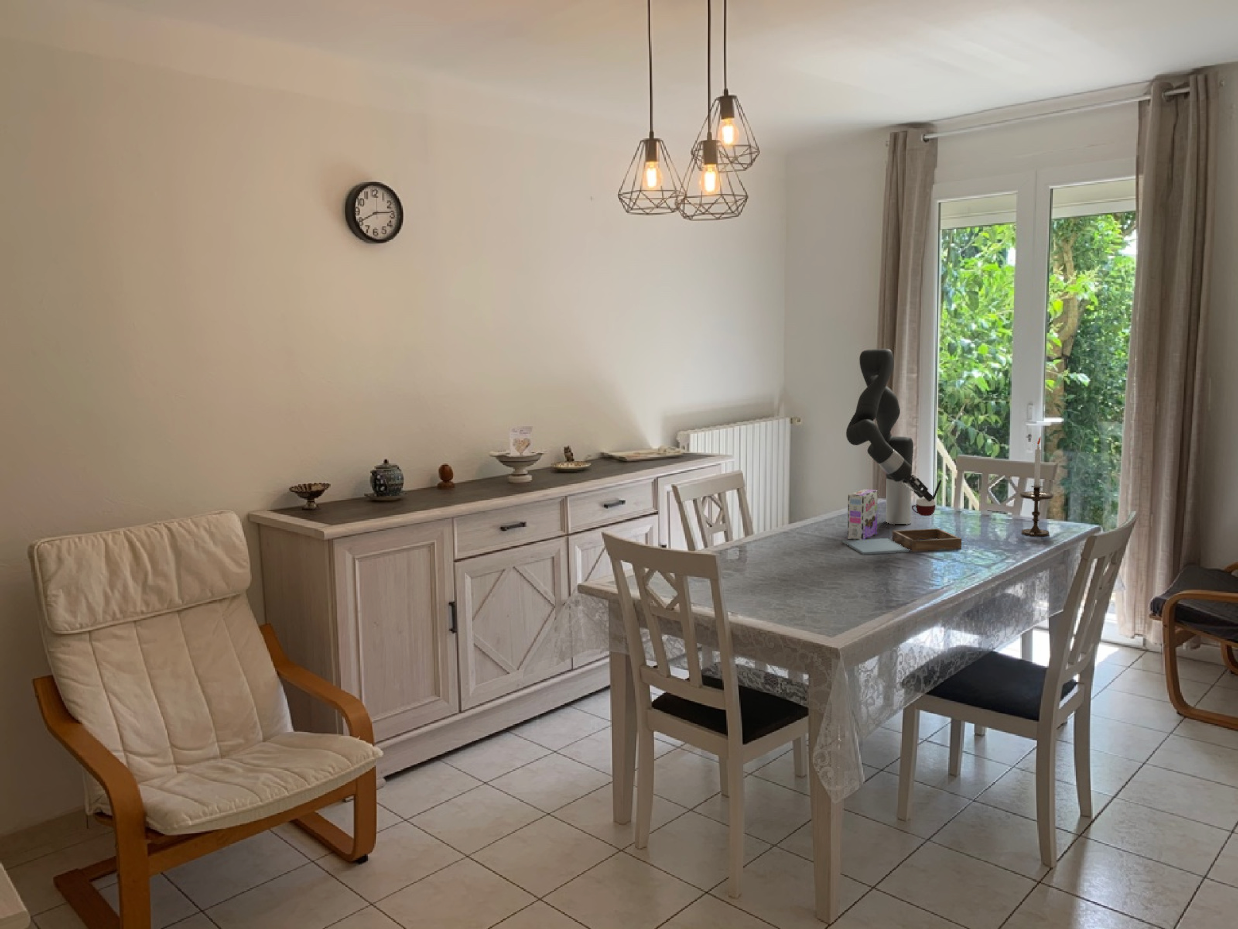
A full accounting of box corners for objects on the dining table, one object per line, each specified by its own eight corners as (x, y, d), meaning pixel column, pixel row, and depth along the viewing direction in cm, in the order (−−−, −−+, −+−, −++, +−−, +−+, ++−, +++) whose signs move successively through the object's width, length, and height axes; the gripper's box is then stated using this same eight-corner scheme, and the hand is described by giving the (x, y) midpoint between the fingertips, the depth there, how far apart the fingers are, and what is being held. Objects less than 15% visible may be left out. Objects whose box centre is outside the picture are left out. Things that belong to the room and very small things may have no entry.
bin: (892, 540, 326) (892, 530, 326) (938, 538, 328) (938, 528, 327) (912, 551, 309) (913, 541, 309) (961, 548, 311) (961, 538, 311)
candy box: (862, 541, 326) (863, 495, 324) (846, 539, 330) (847, 493, 328) (877, 534, 337) (878, 489, 335) (862, 532, 341) (862, 488, 339)
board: (843, 542, 325) (843, 540, 325) (887, 540, 326) (887, 538, 326) (862, 554, 307) (862, 552, 307) (909, 552, 309) (909, 549, 309)
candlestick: (1045, 530, 335) (1049, 434, 330) (1056, 537, 325) (1060, 437, 320) (1014, 530, 336) (1017, 434, 332) (1024, 537, 326) (1027, 438, 321)
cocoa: (911, 516, 317) (910, 482, 315) (915, 512, 322) (913, 478, 320) (940, 517, 312) (939, 482, 310) (943, 513, 318) (942, 479, 316)
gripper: (911, 459, 306) (944, 493, 309) (893, 454, 321) (925, 486, 324) (895, 476, 307) (928, 510, 310) (878, 470, 321) (910, 502, 324)
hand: (927, 497), depth 317 cm, fingers closed on cocoa, 6 cm apart
